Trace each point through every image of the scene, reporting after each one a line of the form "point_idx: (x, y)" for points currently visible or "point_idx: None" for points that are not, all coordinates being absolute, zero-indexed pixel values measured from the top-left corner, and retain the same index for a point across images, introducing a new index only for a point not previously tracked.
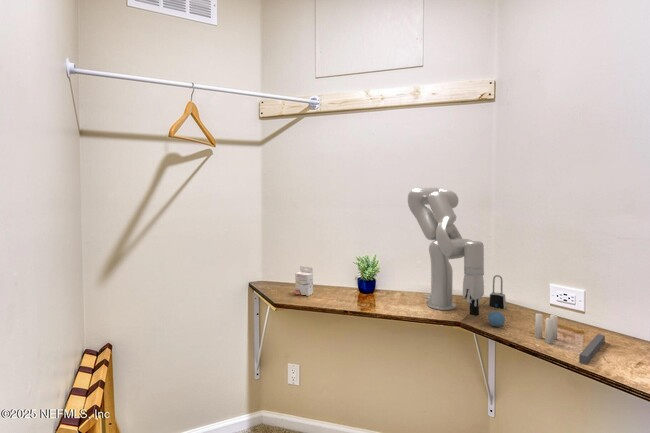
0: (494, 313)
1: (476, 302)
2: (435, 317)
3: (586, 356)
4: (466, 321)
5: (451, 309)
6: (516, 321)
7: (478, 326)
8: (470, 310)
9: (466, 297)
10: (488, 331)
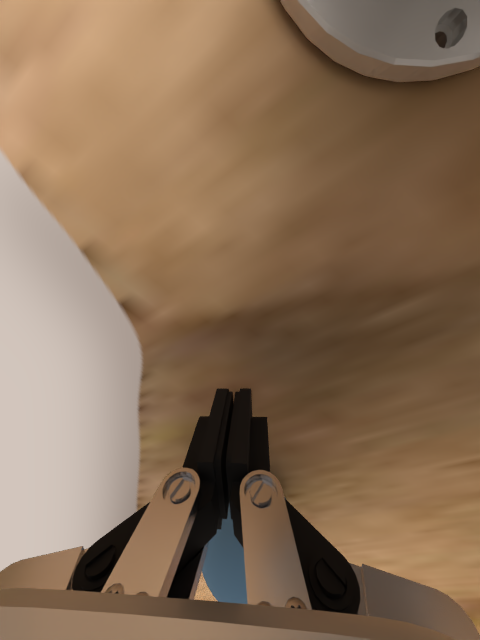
0: (215, 592)
1: (191, 594)
2: (34, 128)
3: None
4: (184, 357)
5: (373, 77)
6: (409, 522)
7: (170, 433)
8: (210, 419)
9: (91, 595)
10: (152, 481)
